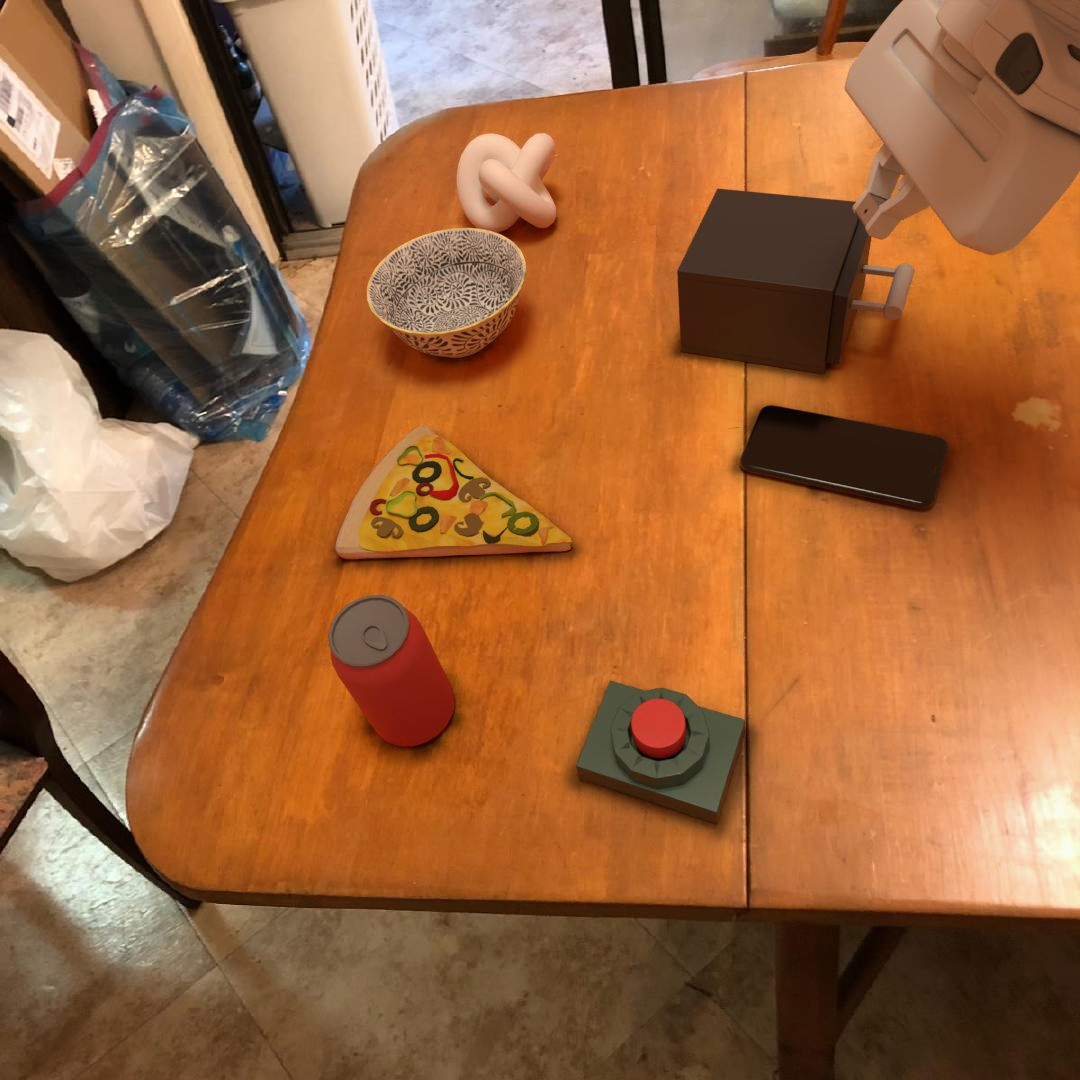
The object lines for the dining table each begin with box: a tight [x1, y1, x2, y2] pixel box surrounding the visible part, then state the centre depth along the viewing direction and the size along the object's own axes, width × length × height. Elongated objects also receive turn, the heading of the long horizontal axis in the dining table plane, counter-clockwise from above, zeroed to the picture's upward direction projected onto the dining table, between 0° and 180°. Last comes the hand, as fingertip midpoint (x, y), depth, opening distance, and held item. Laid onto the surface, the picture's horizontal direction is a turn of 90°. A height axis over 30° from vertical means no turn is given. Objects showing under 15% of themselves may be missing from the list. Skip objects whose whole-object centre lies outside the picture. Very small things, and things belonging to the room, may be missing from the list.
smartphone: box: [739, 404, 949, 509], centre depth 80 cm, size 8×1×16 cm
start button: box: [631, 699, 686, 758], centre depth 63 cm, size 4×4×2 cm
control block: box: [575, 680, 746, 825], centre depth 65 cm, size 10×7×4 cm
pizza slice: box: [335, 425, 573, 560], centre depth 81 cm, size 16×21×3 cm
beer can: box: [327, 594, 456, 747], centre depth 67 cm, size 7×7×12 cm
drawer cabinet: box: [676, 188, 859, 375], centre depth 88 cm, size 14×13×10 cm
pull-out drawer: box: [826, 221, 915, 365], centre depth 87 cm, size 17×11×8 cm
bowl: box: [366, 227, 527, 359], centre depth 94 cm, size 16×16×8 cm
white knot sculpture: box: [456, 132, 557, 233], centre depth 105 cm, size 11×12×9 cm
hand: (866, 225), depth 65 cm, fingers closed
